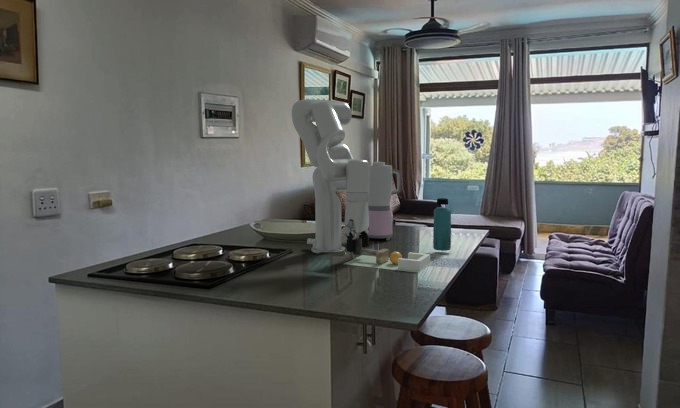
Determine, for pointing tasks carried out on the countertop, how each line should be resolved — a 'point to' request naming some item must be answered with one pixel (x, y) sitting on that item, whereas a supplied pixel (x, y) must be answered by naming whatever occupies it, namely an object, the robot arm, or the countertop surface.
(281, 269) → the countertop surface
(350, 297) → the countertop surface
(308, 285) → the countertop surface
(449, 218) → the beverage bottle
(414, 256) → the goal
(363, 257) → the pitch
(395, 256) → the ball
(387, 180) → the blender
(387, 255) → the rod
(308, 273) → the countertop surface
